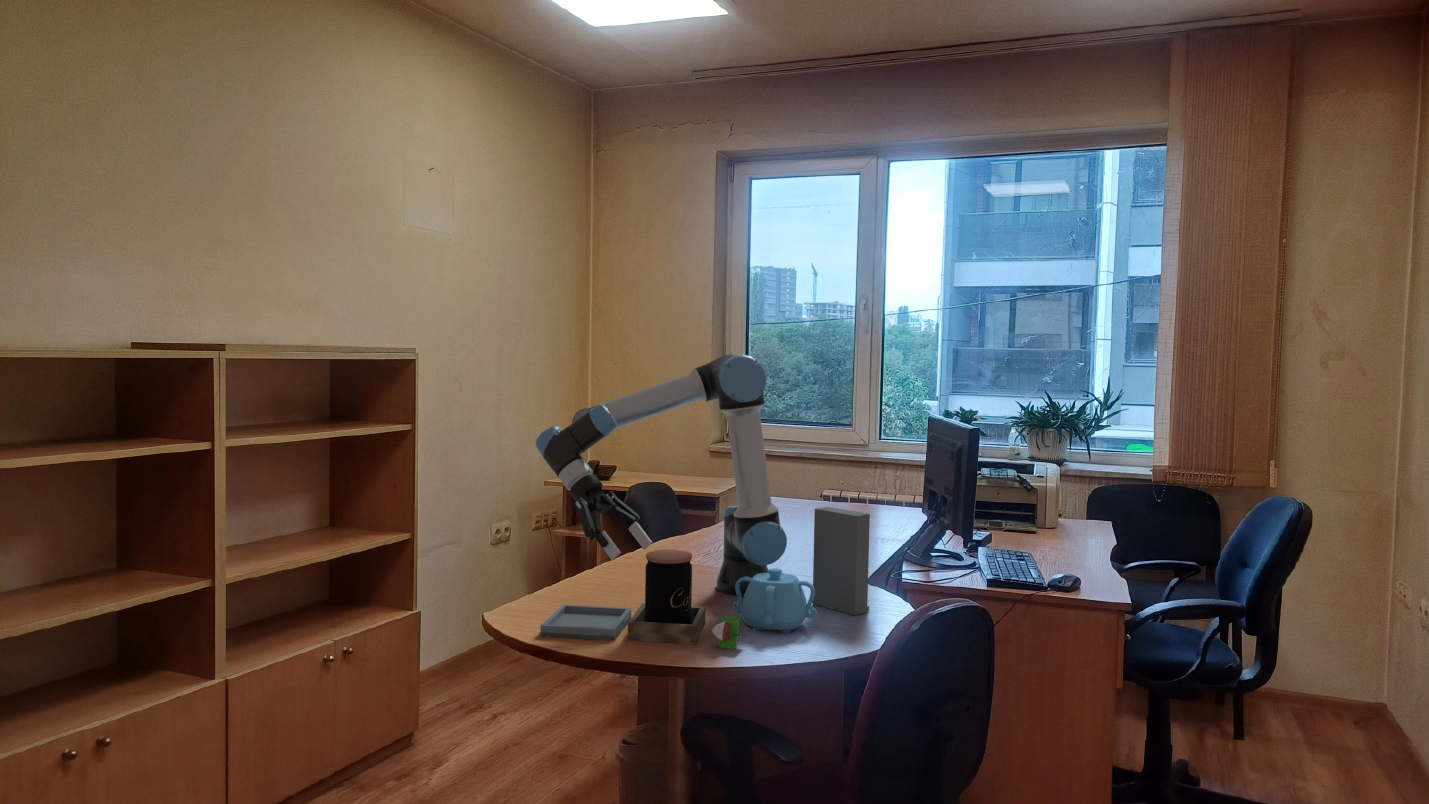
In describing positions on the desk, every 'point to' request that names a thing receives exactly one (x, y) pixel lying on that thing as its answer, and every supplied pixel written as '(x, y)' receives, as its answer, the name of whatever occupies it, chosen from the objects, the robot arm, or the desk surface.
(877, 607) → the desk surface
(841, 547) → the upright grey slab box
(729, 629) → the geometric puzzle
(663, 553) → the coffee jar
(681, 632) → the walnut collar
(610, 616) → the grey tray
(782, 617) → the decorative pot
